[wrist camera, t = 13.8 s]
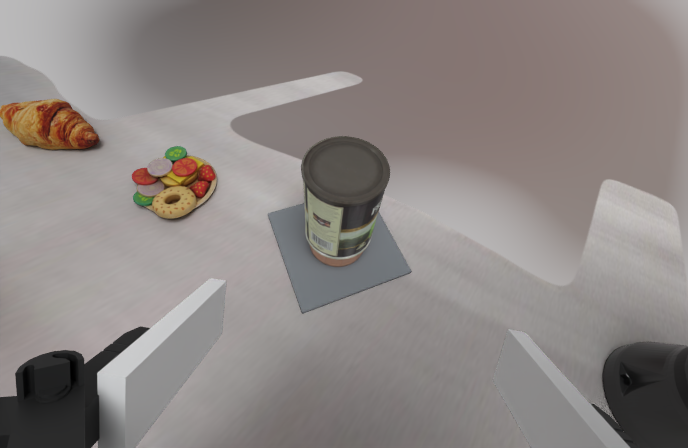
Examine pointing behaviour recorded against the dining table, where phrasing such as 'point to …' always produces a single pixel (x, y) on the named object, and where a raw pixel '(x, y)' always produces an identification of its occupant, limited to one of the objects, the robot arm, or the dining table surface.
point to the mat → (326, 281)
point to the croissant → (48, 125)
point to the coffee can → (342, 194)
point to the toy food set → (174, 183)
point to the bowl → (333, 261)
